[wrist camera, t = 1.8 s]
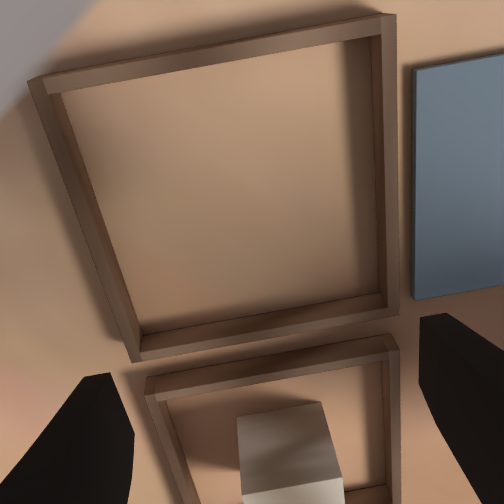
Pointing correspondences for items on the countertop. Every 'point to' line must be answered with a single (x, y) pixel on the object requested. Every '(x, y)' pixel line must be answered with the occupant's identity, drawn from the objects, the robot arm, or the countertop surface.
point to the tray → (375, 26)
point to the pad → (457, 177)
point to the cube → (288, 457)
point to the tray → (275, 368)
